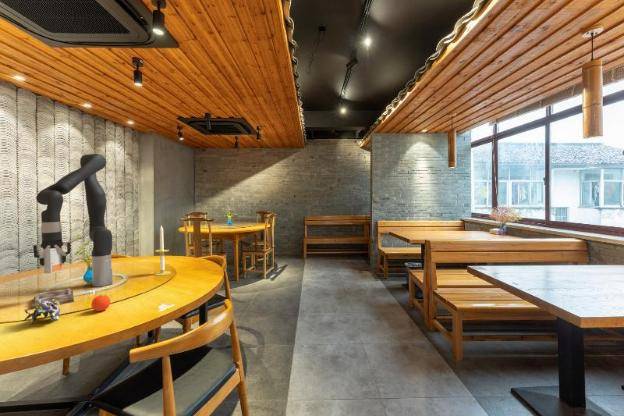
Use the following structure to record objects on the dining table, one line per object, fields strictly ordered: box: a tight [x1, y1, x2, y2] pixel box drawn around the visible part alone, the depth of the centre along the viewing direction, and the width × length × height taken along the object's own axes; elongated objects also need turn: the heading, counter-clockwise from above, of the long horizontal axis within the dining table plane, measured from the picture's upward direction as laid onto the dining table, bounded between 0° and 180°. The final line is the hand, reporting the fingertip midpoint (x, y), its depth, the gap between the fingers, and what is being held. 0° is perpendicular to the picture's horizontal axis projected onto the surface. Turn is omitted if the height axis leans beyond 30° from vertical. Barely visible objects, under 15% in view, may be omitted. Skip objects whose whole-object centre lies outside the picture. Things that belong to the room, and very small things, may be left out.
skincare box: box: [42, 246, 64, 275], centre depth 145 cm, size 6×4×12 cm
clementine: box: [91, 294, 113, 312], centre depth 131 cm, size 8×7×7 cm
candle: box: [153, 225, 172, 276], centre depth 195 cm, size 10×10×32 cm
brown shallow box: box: [30, 288, 75, 310], centre depth 144 cm, size 15×18×3 cm
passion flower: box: [23, 299, 62, 326], centre depth 118 cm, size 11×11×12 cm
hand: (53, 264), depth 145 cm, fingers closed on skincare box, 7 cm apart
